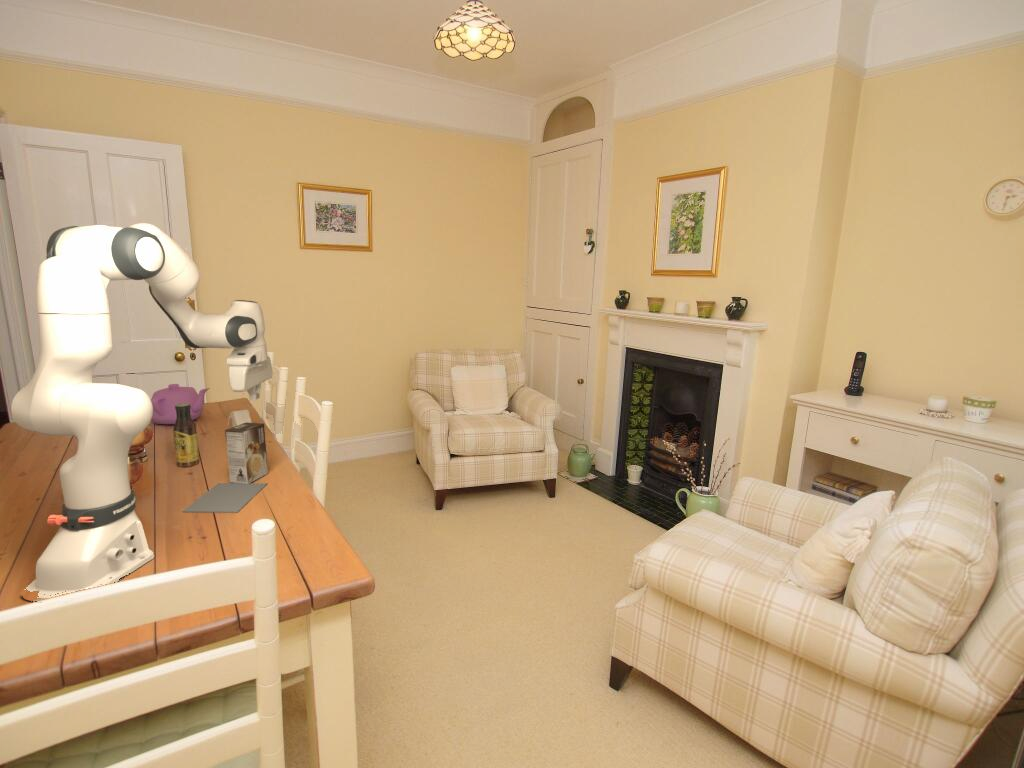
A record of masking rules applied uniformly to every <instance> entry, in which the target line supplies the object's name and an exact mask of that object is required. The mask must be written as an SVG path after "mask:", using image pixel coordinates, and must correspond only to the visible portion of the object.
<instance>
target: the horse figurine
mask: <svg viewBox="0 0 1024 768" xmlns="http://www.w3.org/2000/svg"><path fill="white" fill-rule="evenodd" d="M230 420H232V421H231V424H232V427H235V426H238V425H241V424H243V423H246V422H247V423H253V422H252V419H251V415H250V411H249V409H240V410H234V411H233V410H232V411H230V413H229V416H228V420H227V426H230Z"/></svg>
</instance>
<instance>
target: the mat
mask: <svg viewBox="0 0 1024 768" xmlns="http://www.w3.org/2000/svg"><path fill="white" fill-rule="evenodd" d="M267 485H268V483H267V482H266V483H264V482H263V483H262V482H261V483H260V482H259V483H258V482H257V483H255V482H254V483H253V482H251V483H249V484H242V483H232V482H218V483H216V484H215V485H214V486H213V487H212V488H210V489H209V490H208V491H206V492H205V493H204V494H203V495H201V496H200V497H198V499H196V500H195V501H193V502H192V503H191V504H189V505H187V507H186V508H185V509H183V510H182V513H217V514H218V513H223V514H224V513H226V514H227V513H230V514H231V513H235V514H237V513H239V512H240V511H241V510H242V509H243V508H245V507H246V506H247V504H249V502H250V501H252V500H253V499H254V498H255V497H254V496H255V495H256V496H257V495H258V494H259V493H260V492H261V491H262V490H263V489H264V488H266V486H267ZM257 493H258V494H257ZM253 497H254V498H253Z"/></svg>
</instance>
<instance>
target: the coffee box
mask: <svg viewBox="0 0 1024 768" xmlns="http://www.w3.org/2000/svg"><path fill="white" fill-rule="evenodd" d="M224 433H225V445H226V453H227V463H228V464H227V465H228V476H229V477H228V478H229V483H242V484H249V483H253V482H255V481H256V480H258V479H260V478H262V477H264V476H266V475H268V474H269V468H268V467H269V466H268V458H267V446H266V445H267V443H266V442H267V441H266V432H265V423H260V422H259V423H257V422H252V423H247V422H246V423H243V424H241V425H238V426H235V427H233V426H232V427H229V428H227V429H225V430H224Z"/></svg>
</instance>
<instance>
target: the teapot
mask: <svg viewBox="0 0 1024 768" xmlns="http://www.w3.org/2000/svg"><path fill="white" fill-rule="evenodd" d="M167 386H168V387H165V388H162V389H159V390H156V391H155V392H153V394H152V396H151V398H150V399H151V402H152V405H153V415H152V419H151V421H152V423H153V424H158V425H175V422H176V419H177V418H176V417H177V414H176V409H175V405H176V404H179V403H190V406H191V408H190V414H191V419H192V420H193V421H194V420H196V419H199V418H200V417H201V416H202V414H203V412H204V406H205V395H206V392H207V391H208V390H210V387H206V388H202V389H200V390H199V392H197V390H196V389H195V387H192V386H180V384H178V383H170V384H167ZM151 421H150V422H151Z"/></svg>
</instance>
